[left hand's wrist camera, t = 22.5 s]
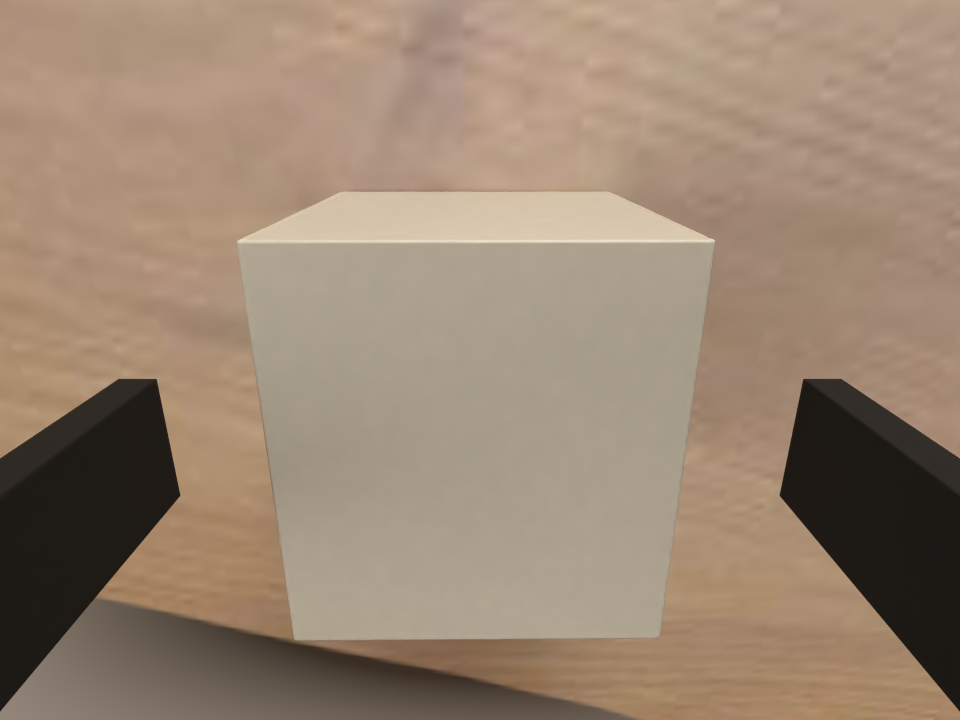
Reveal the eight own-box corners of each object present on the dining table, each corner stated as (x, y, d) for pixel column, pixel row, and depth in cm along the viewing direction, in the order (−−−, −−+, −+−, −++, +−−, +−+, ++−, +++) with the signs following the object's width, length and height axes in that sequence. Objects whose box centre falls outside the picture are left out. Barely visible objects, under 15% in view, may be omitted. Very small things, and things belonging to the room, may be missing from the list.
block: (360, 450, 19) (293, 641, 12) (340, 191, 16) (234, 240, 9) (591, 449, 19) (660, 639, 12) (611, 191, 16) (717, 239, 9)
